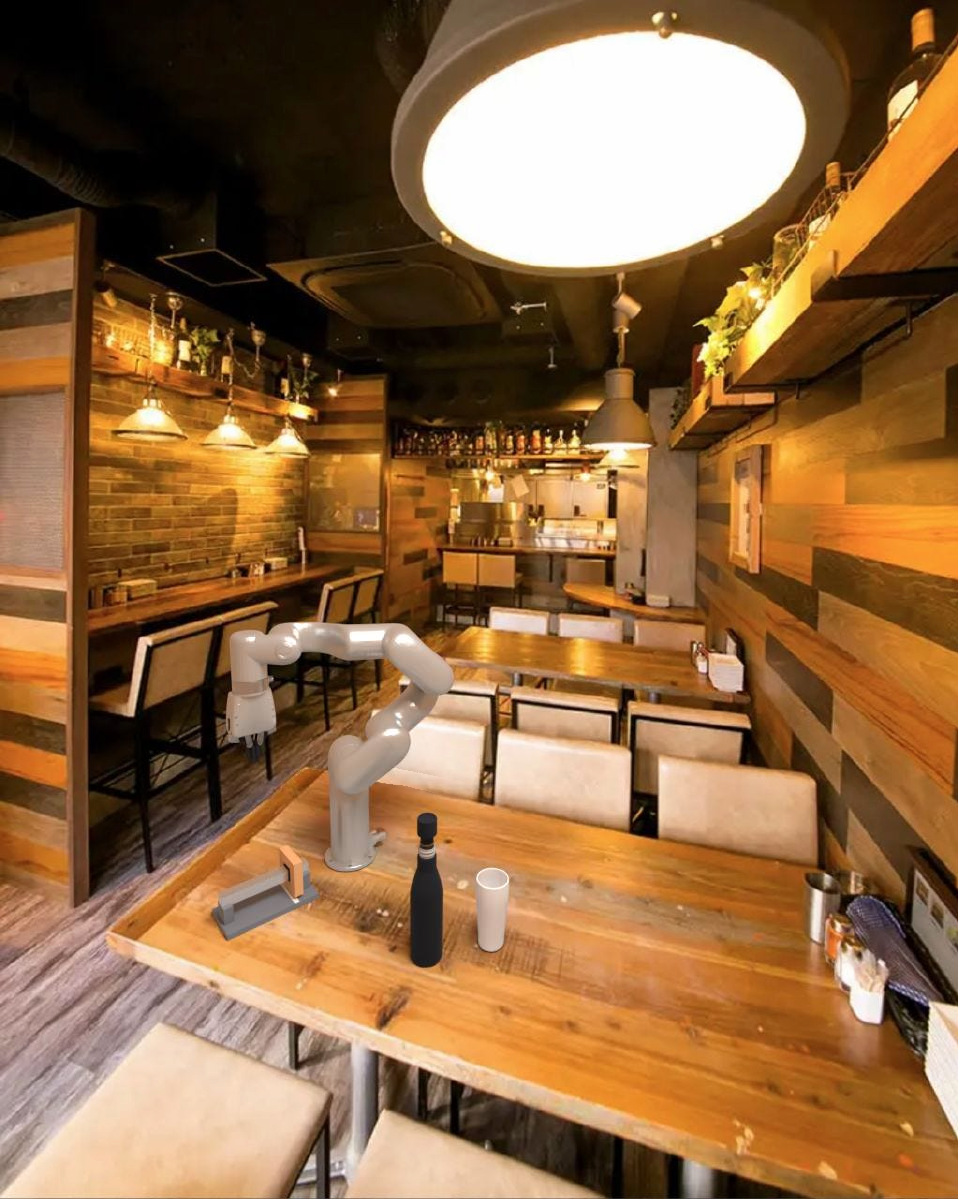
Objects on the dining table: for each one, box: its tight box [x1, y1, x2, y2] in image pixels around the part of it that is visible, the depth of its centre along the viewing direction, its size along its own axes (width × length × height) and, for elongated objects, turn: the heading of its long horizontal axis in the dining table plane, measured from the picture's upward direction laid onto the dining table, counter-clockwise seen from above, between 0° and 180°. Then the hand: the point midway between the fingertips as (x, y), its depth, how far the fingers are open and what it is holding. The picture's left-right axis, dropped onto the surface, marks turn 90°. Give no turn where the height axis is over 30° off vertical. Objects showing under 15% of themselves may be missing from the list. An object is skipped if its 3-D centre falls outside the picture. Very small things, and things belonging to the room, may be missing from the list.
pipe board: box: [211, 871, 320, 941], centre depth 127 cm, size 20×10×5 cm, turn 131°
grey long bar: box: [217, 856, 310, 909], centre depth 127 cm, size 19×3×3 cm, turn 131°
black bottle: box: [409, 812, 444, 969], centre depth 112 cm, size 6×6×30 cm
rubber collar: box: [278, 844, 304, 897], centre depth 130 cm, size 2×8×8 cm, turn 41°
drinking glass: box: [475, 867, 510, 953], centre depth 117 cm, size 7×7×15 cm
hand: (253, 760), depth 133 cm, fingers closed
